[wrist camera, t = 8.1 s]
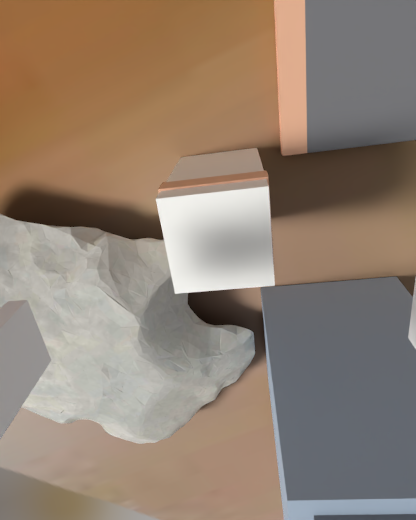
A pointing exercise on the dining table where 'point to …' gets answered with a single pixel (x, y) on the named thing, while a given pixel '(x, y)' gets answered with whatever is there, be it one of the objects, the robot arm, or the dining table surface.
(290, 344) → the box
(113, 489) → the dining table surface
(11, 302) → the robot arm
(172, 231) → the cartridge
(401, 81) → the mat
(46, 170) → the dining table surface
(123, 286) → the rock
